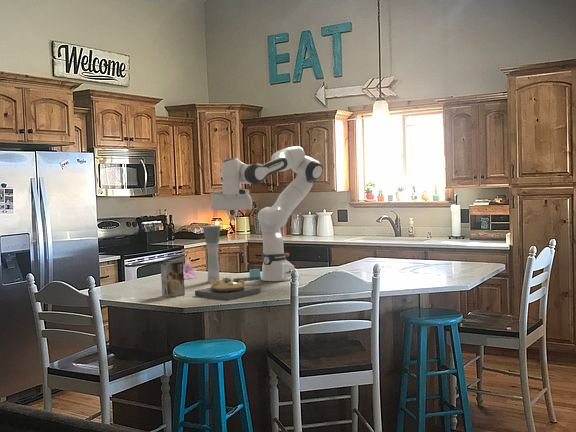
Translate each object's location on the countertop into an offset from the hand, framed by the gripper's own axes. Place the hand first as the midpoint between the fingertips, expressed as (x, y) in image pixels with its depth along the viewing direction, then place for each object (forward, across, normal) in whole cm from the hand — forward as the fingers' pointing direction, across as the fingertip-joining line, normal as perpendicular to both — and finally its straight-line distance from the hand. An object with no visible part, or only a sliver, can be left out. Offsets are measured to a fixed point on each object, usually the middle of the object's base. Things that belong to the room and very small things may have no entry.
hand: (232, 219), depth 322 cm
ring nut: (+32, +3, -12) cm, 35 cm away
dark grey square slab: (+35, -1, -14) cm, 38 cm away
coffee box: (+35, -28, -13) cm, 47 cm away
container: (+35, -16, +26) cm, 46 cm away
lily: (+35, -33, +40) cm, 63 cm away
